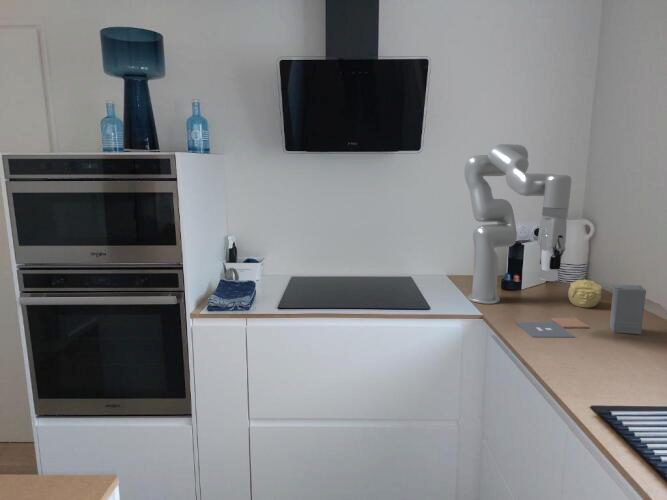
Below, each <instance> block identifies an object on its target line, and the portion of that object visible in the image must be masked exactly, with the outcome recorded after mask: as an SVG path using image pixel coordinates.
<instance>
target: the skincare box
mask: <svg viewBox="0 0 667 500" xmlns="http://www.w3.org/2000/svg"><path fill="white" fill-rule="evenodd" d="M646 294H647V290H646V289H645V288H644V287H643V286H642V285H640V284H619V283H618V284H617V283H613V288H612V296H611V297H612V298H611V308H610V317H609V327H610V329H611V331H612V332H613V333H618V334H620V333H621V334H630V335H642V330H643V328H642V327H643V321H644V311H645V303H646V296H647V295H646Z"/></svg>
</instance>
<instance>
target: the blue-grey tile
mask: <svg viewBox="0 0 667 500" xmlns="http://www.w3.org/2000/svg"><path fill="white" fill-rule="evenodd" d="M515 324H516V325H517V326H518V327H520V328H521V329H522V330H523V331H524V332H525V333H527V334H528V335H529V336H530V337H532V338H576V336H575V335H573V334H572V333H571V332H569V331H568V330H566V328H562V327H561V326H560V325H558V324H557V323H555V322H554V321H515Z"/></svg>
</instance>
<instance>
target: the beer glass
mask: <svg viewBox="0 0 667 500" xmlns="http://www.w3.org/2000/svg"><path fill="white" fill-rule="evenodd" d="M546 242H547V236H546V235H543V234H542V239H541V244H540V245H539V257H540V258H539V261H540V260H541V264H540V269H539V270H540V271H539V274H538V279H540V280H541V281H546V282H558V281H559V269H550V268H549V267H550V257H552V248H551V249H549V248H547V247H546ZM554 248H559V245H558V242H557V244H556V245H555V247H554ZM556 251H557V250H555V252H556Z"/></svg>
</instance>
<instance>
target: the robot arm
mask: <svg viewBox="0 0 667 500" xmlns="http://www.w3.org/2000/svg"><path fill="white" fill-rule="evenodd" d="M528 159H529V152H528V150H527V148H526V147H525V146H524V145H522V144H515V143H514V144H513V143H512V144H511V143H509V144H508V143H504V144H503V143H501V144H496V145H494V146H492V148H491V149H490V150H489V152H488V155H487V154H479V155H478V154H477V155H473V156H471V157H469V158H468V159H467V160H466V162H465V166H464V171H463V172H464V179H465V181H466V185H467V188H468V190H469V195H470V201H471V208H472V214H473V217H474V219H475V221H476V222H479V223H494V224H482V225H479V226H476V228H475V229H474V230H473V233H472V240H473V249H474V250H473V251H474V253H473V254H474V255H473V257H474V258H473V270H472V271H473V274H472V289H471V293H469V294H468V295H467V299H468V300H469V301H471V302H474V303H477V304H483V305H484V304H485V305H493V304H498V303H499V302H500V300H501V299H500V297H499V296H498V295H497V285H498V284H497V283H498V272H499V271H498V270H499V256H498V254H497V252H496V250H495V249H497V248H498V249H499V248H509V247H512V246H514V245H515V244H516V243H517V238H518V236H517V235H518V232H517V226H516V220H515V215H514V209H513V206H512V203H510V202H509V201H508V200H507V199H503V198H494V197H493V192H492V187H491V186H490V183H489V182H488V181H487V179H485V178H484V177H503V176H505V180H506V184H507V186H508V187H509V188H510V189H511V190H513V191H514V192H515V193H517V194H518V195H520V196H525V197H536V196H537V197H543V200H542V201H543V203H542V210H541V211H542V212H541V213H542V214H541V220H540V223H539V229H538V234H537V244H538V245H539V246H540V244H541V239H542V234H543V235H546V236H547V242H546V247H547V248H549V249H551V248H552V257H550V267H549V268H550V269H558V270H560V268H561V261H562V257H563V254H564V252H565V251H566V240H567V219H568V216H569V207H570V197H571V188H572V177H571V176H570V175H568V174H555V173H554V174H553V173H540V172H539V173H537V172H536V173H533V172H532V173H530V172H529V173H527V171H528V169H529V160H528ZM557 242H558V245H559V248H554V247H555V245H556V244H557ZM555 250H557V251H556V252H555ZM539 265H541V260H540V259H539Z"/></svg>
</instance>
